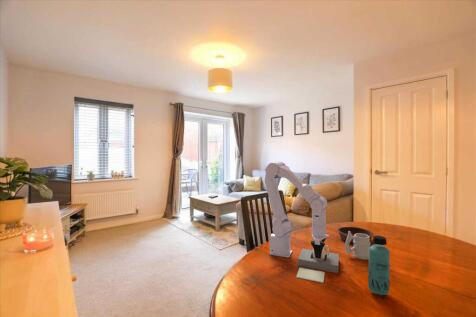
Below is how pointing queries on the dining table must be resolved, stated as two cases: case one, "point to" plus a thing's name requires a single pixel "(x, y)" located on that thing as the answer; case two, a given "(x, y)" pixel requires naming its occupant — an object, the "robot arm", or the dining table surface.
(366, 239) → the mug
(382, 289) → the beverage bottle
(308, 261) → the holder
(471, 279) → the dining table surface
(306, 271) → the mat
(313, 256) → the cream strapped capsule
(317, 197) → the robot arm
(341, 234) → the dish
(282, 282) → the dining table surface
